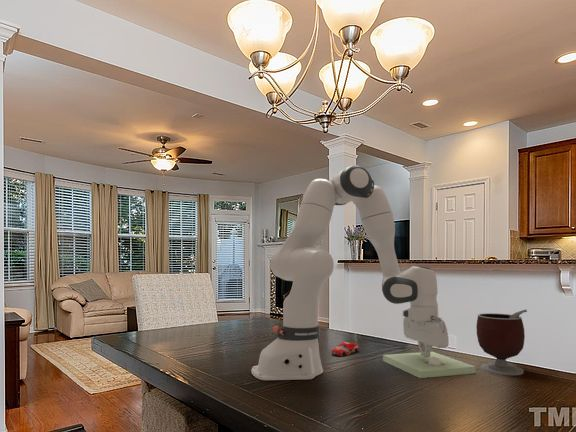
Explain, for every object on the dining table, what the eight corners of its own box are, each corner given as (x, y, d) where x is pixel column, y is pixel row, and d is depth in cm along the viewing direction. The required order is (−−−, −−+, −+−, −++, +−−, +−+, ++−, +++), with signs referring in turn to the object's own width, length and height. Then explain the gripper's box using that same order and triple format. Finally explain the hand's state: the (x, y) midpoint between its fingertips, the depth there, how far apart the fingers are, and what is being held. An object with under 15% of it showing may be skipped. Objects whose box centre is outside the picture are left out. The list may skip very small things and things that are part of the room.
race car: (340, 358, 152) (340, 347, 152) (328, 356, 156) (328, 344, 156) (361, 352, 161) (361, 341, 161) (350, 350, 165) (350, 339, 165)
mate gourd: (469, 368, 137) (467, 306, 139) (491, 362, 145) (488, 303, 147) (519, 380, 125) (516, 311, 127) (539, 372, 133) (536, 307, 135)
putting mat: (420, 378, 126) (419, 371, 126) (383, 360, 147) (382, 355, 147) (475, 373, 132) (475, 366, 132) (432, 357, 153) (432, 351, 153)
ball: (433, 371, 133) (432, 358, 133) (426, 369, 137) (425, 356, 137) (444, 370, 134) (443, 357, 134) (437, 368, 138) (436, 355, 138)
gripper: (452, 318, 133) (454, 363, 131) (415, 310, 152) (416, 349, 151) (435, 318, 131) (436, 364, 129) (399, 310, 150) (400, 350, 149)
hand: (425, 356), depth 140 cm, fingers closed
